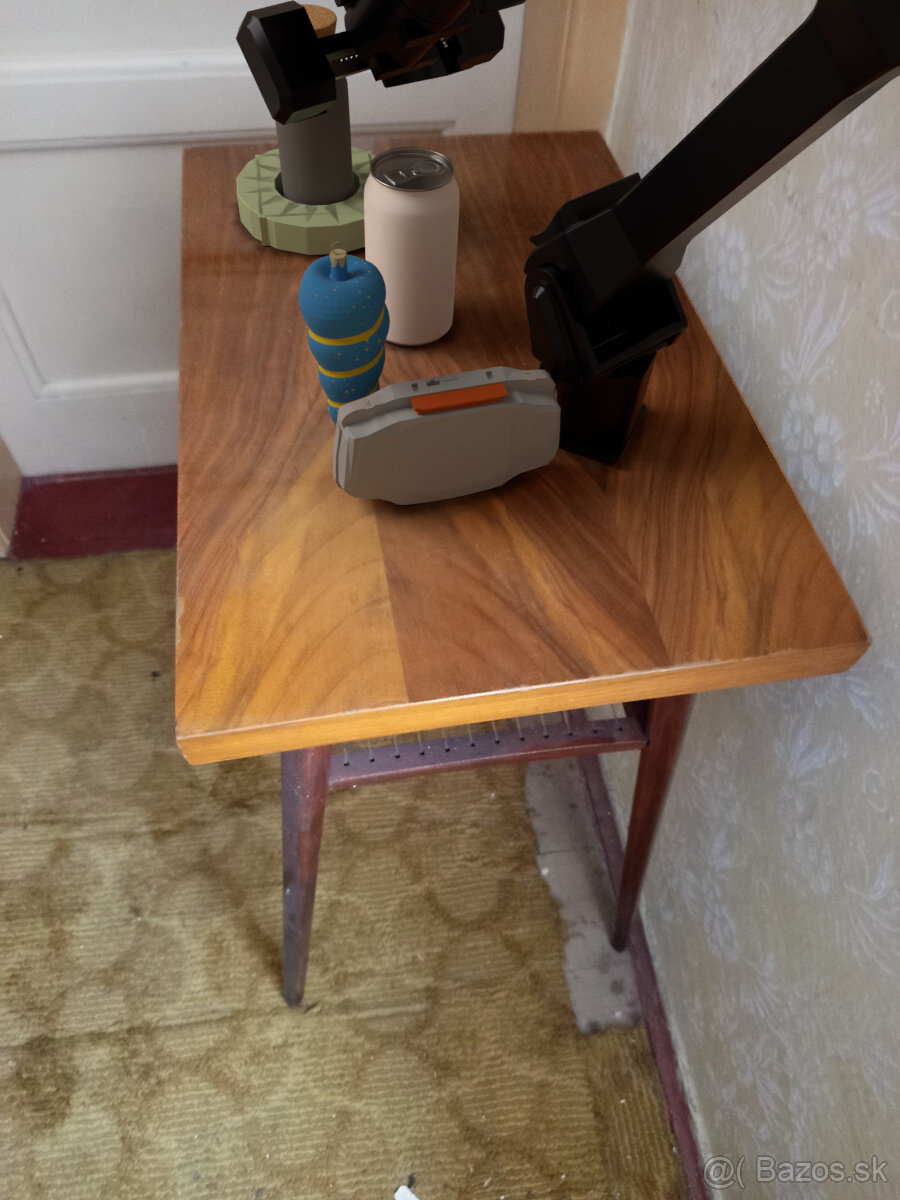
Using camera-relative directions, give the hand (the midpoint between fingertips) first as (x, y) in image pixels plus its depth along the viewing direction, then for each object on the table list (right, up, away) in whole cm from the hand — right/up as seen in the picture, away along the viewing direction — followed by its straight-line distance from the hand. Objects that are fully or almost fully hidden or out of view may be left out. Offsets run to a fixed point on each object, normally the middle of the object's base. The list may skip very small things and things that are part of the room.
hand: (334, 96), depth 69 cm
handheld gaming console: (+8, -30, -9) cm, 33 cm away
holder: (-3, -4, +10) cm, 11 cm away
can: (+6, -17, +1) cm, 18 cm away
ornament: (+2, -28, -7) cm, 29 cm away
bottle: (-2, -5, +10) cm, 11 cm away
